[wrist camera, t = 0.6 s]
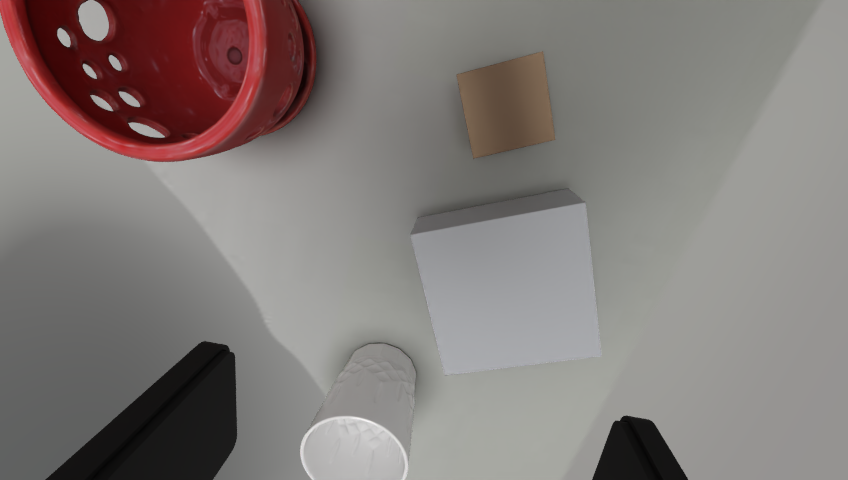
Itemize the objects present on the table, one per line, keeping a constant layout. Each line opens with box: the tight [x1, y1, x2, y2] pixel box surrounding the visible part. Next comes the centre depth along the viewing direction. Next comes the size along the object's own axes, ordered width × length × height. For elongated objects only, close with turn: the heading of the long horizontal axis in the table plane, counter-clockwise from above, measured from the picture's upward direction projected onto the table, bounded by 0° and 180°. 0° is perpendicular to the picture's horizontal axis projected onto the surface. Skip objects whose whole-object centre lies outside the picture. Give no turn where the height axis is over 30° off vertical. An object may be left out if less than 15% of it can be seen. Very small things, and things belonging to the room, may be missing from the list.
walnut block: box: [457, 52, 555, 159], centre depth 26 cm, size 5×5×6 cm
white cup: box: [300, 343, 416, 480], centre depth 33 cm, size 8×8×10 cm
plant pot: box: [0, 0, 316, 162], centre depth 24 cm, size 13×13×12 cm
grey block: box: [410, 189, 602, 375], centre depth 31 cm, size 12×12×5 cm
